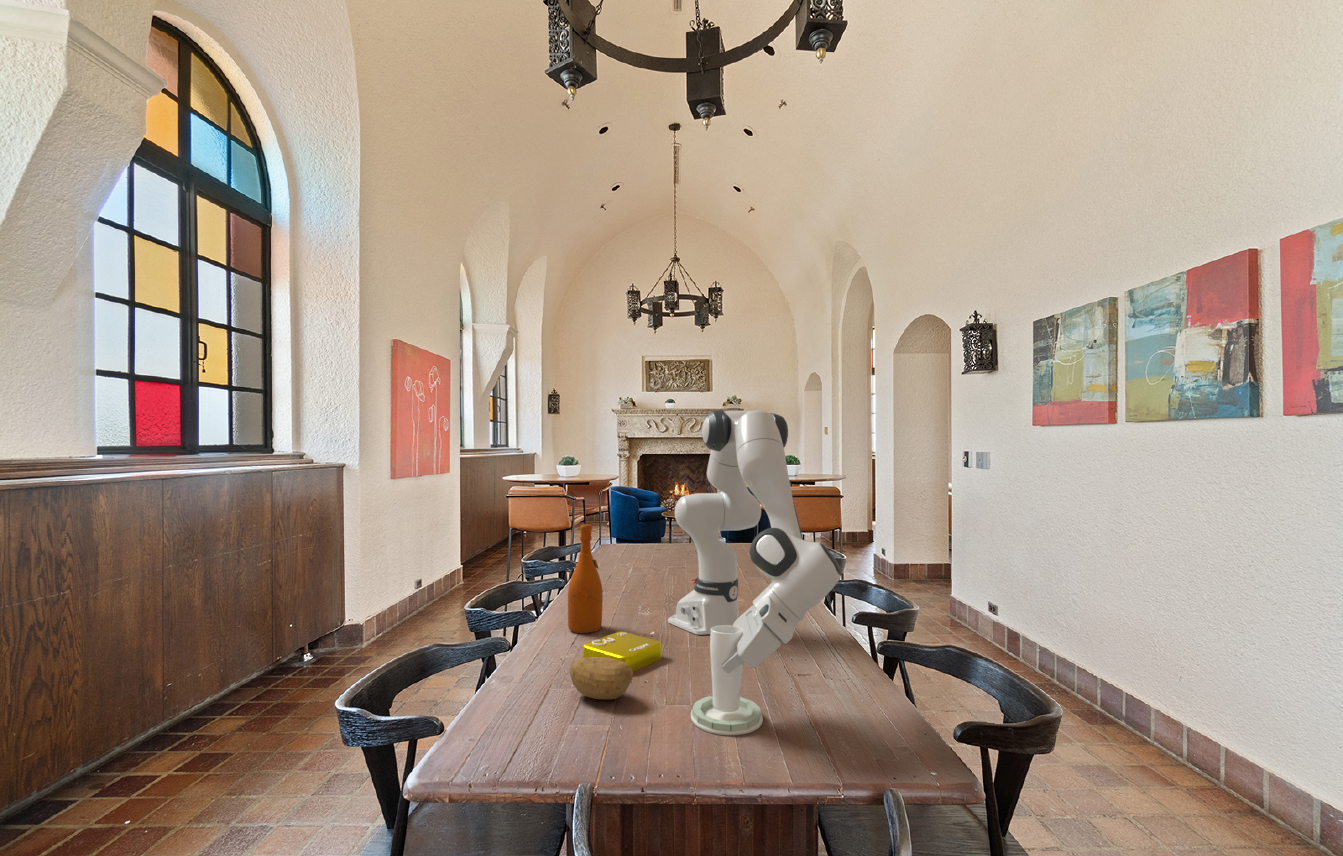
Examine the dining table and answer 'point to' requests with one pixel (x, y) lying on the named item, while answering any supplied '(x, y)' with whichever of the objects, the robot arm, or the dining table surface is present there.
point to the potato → (601, 677)
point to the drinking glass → (722, 683)
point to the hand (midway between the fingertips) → (723, 662)
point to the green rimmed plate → (726, 717)
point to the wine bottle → (585, 590)
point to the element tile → (625, 649)
